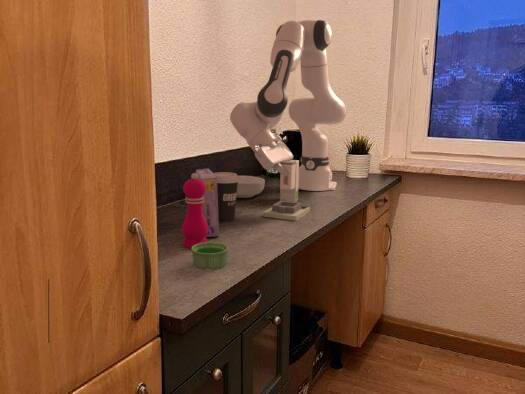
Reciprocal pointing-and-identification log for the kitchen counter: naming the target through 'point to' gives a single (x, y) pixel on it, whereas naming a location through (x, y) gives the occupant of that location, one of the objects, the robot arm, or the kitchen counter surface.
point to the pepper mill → (194, 212)
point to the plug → (288, 180)
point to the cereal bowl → (249, 186)
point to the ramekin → (209, 255)
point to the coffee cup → (226, 195)
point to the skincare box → (293, 193)
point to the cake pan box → (210, 201)
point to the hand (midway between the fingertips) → (289, 174)
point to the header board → (287, 210)
